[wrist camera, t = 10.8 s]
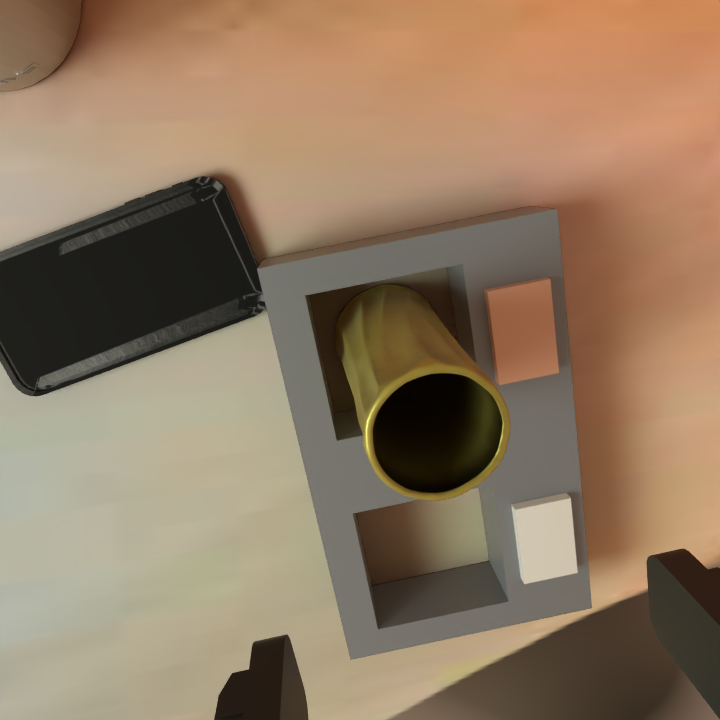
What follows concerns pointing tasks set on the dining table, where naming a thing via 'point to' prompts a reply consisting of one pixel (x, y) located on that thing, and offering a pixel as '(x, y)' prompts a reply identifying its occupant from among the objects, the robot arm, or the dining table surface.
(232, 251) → the phone
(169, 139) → the dining table surface
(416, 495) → the vase
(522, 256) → the socket block
